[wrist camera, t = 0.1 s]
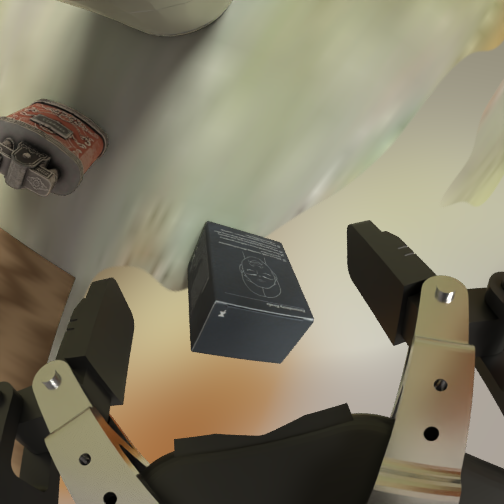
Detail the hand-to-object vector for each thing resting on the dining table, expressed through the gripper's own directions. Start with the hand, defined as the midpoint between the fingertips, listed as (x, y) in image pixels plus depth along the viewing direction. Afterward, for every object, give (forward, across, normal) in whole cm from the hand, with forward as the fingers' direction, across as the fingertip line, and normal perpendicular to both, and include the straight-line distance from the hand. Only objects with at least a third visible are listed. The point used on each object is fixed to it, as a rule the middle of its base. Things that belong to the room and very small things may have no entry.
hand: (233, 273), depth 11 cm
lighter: (+17, +11, -6) cm, 21 cm away
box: (+18, 0, +10) cm, 21 cm away
